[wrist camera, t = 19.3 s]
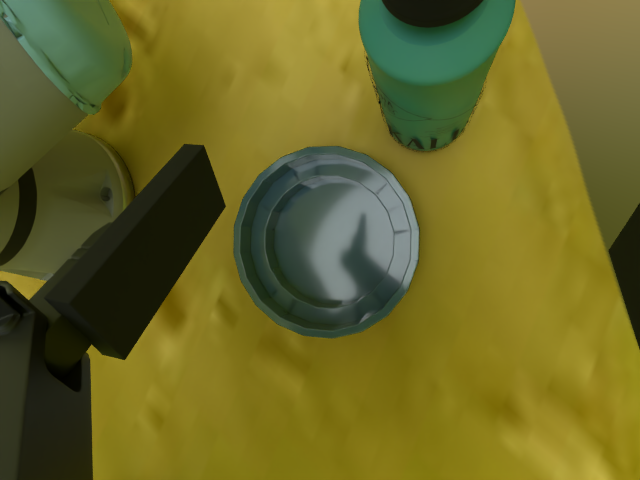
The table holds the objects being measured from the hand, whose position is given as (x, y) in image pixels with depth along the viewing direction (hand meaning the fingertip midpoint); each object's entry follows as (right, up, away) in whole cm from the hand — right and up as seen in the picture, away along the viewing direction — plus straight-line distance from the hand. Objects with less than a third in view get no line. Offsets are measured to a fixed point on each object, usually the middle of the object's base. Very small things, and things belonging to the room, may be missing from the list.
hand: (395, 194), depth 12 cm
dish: (-1, -2, +20) cm, 21 cm away
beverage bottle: (+6, +8, +19) cm, 21 cm away
